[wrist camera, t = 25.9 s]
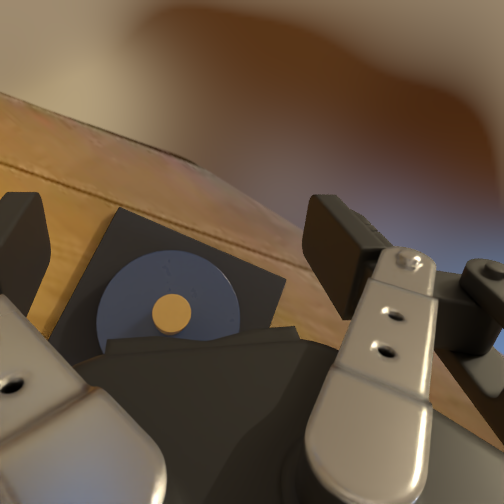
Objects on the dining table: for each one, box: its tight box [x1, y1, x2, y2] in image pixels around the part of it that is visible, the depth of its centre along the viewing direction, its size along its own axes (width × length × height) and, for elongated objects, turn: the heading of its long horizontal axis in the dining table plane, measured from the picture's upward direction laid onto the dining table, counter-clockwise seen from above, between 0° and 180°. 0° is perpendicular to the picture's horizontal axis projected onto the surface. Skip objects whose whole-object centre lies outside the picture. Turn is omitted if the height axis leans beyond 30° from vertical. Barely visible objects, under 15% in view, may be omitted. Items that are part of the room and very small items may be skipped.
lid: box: [96, 250, 240, 354], centre depth 32 cm, size 12×12×6 cm
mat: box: [48, 207, 286, 367], centre depth 35 cm, size 17×15×1 cm
